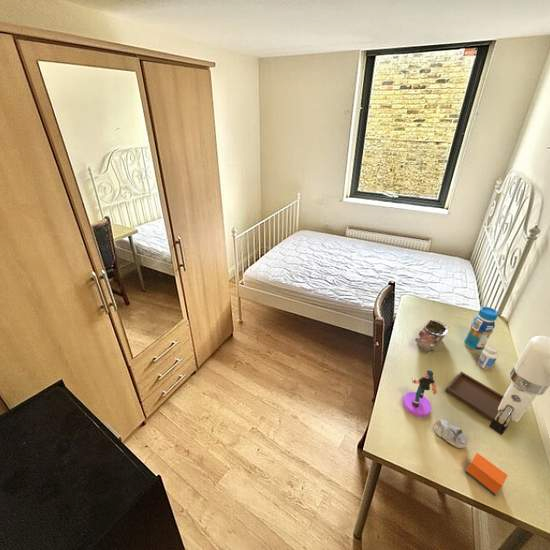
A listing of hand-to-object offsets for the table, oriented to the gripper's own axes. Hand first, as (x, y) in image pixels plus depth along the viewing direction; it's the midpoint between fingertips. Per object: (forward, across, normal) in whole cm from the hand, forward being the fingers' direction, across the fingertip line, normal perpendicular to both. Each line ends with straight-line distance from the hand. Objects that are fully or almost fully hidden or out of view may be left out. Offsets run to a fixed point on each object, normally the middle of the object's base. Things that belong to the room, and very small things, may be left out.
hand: (502, 420), depth 83 cm
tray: (+18, +24, +9) cm, 31 cm away
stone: (+19, 0, +9) cm, 21 cm away
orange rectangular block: (+18, -6, -3) cm, 20 cm away
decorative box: (+19, +37, +35) cm, 54 cm away
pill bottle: (+19, +44, +15) cm, 51 cm away
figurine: (+19, +1, +22) cm, 29 cm away
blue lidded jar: (+19, +54, +23) cm, 62 cm away
